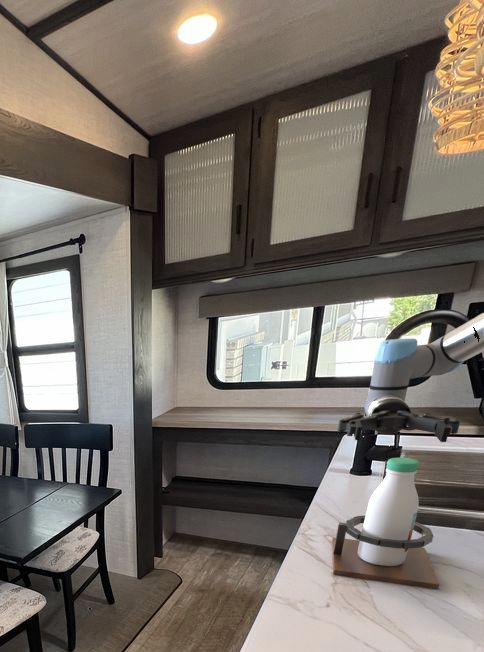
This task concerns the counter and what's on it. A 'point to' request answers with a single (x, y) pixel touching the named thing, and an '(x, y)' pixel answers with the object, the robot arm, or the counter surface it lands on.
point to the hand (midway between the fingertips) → (400, 434)
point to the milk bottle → (391, 513)
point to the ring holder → (409, 572)
